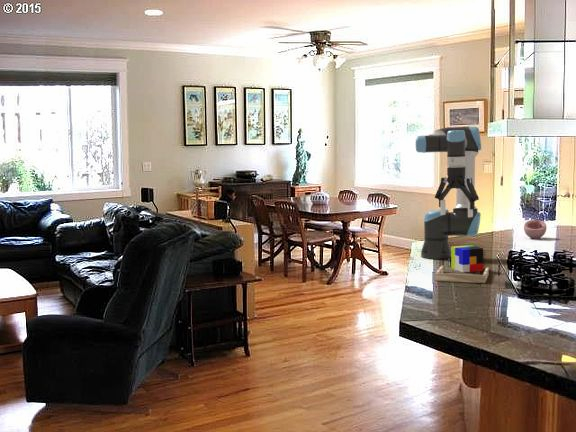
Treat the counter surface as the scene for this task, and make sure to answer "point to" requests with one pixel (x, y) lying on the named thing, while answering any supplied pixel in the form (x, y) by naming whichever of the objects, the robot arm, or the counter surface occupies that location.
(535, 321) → the counter surface
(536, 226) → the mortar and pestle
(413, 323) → the counter surface
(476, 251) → the puzzle toy
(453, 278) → the tray
